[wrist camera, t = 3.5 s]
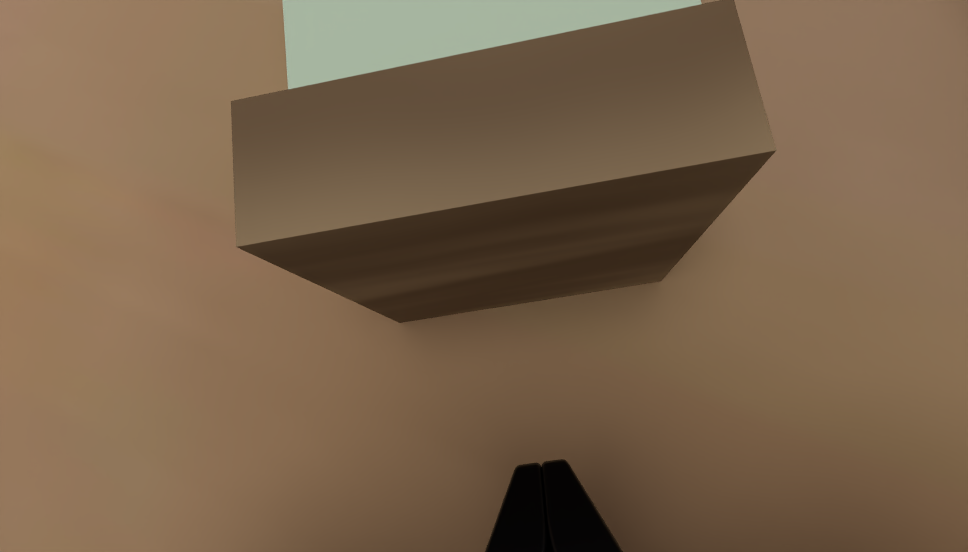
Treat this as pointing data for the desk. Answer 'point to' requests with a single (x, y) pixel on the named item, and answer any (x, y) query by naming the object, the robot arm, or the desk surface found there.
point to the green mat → (430, 29)
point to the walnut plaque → (505, 165)
